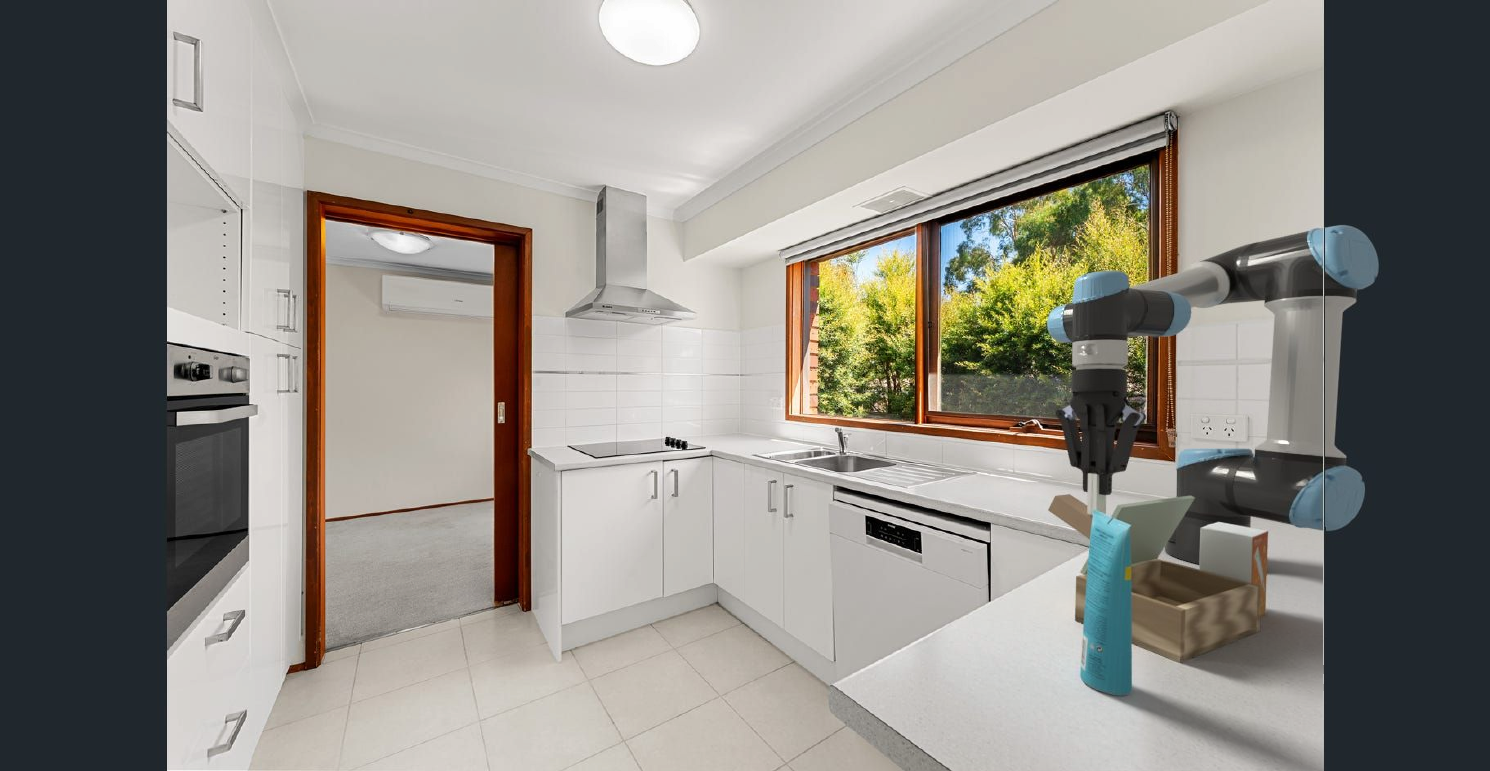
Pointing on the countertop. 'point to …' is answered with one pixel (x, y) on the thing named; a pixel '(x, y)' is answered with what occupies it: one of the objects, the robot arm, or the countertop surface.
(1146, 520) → the lid
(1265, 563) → the small box
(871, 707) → the countertop surface
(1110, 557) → the tube
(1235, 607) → the crate
